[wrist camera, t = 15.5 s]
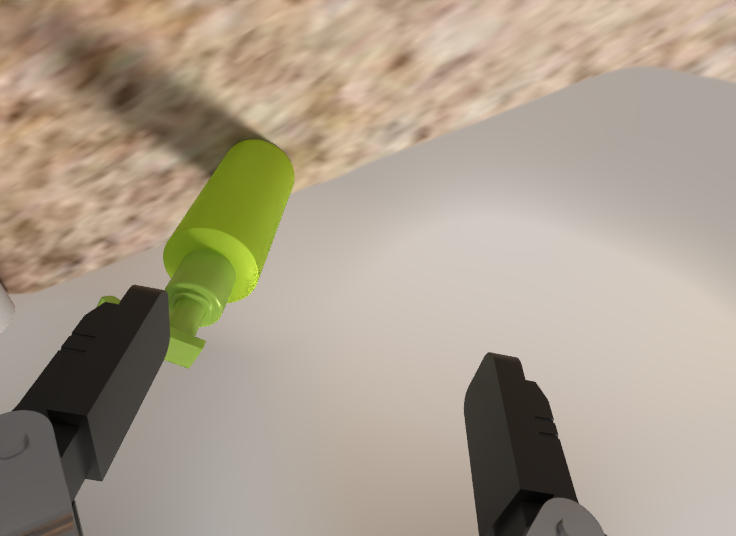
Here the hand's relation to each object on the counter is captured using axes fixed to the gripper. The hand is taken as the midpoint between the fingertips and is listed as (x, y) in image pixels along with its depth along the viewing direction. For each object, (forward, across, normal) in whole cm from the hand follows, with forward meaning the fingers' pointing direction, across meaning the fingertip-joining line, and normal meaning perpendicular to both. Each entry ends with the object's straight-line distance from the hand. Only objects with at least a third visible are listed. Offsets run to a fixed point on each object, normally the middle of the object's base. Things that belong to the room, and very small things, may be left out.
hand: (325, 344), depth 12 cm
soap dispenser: (+28, +8, +11) cm, 31 cm away
